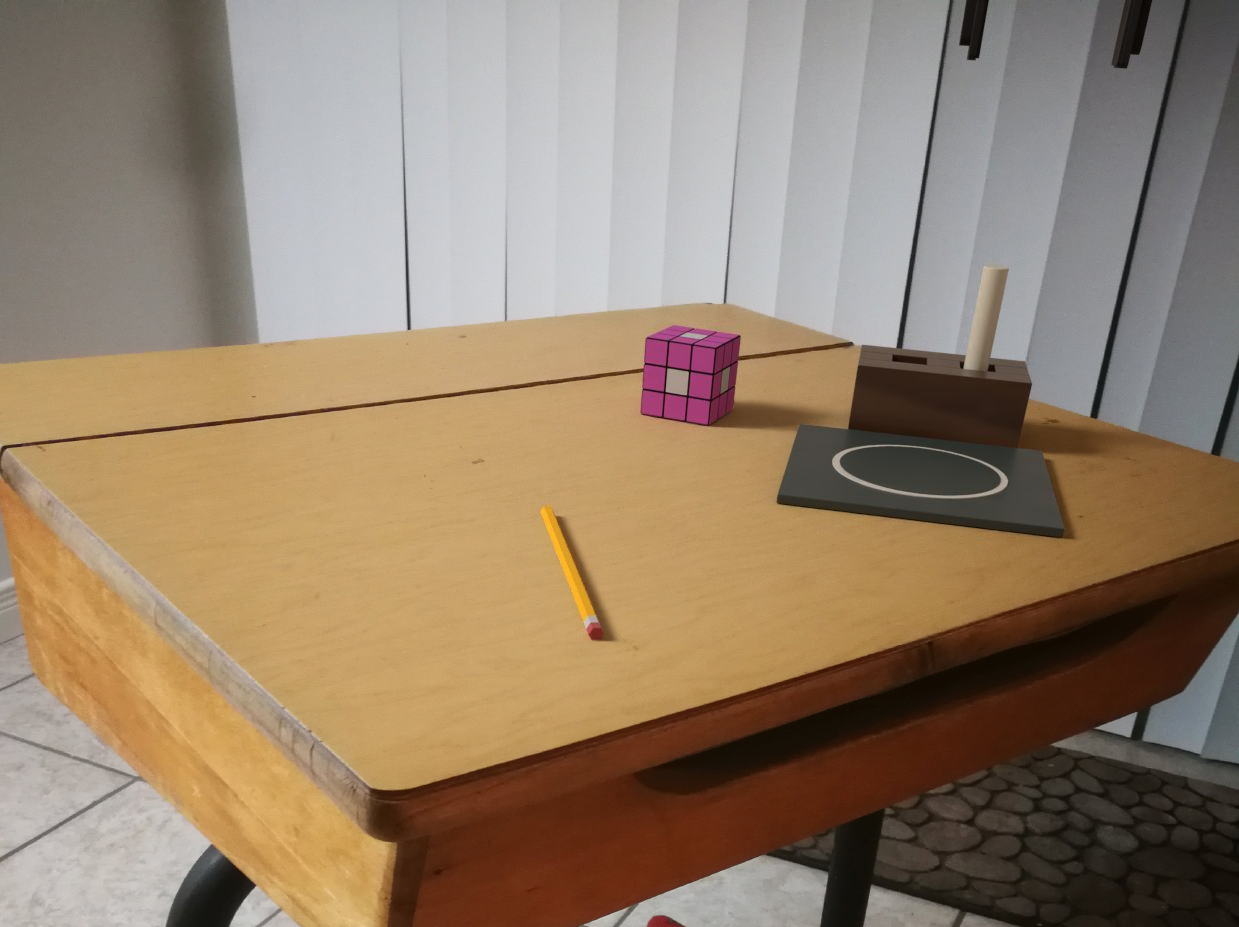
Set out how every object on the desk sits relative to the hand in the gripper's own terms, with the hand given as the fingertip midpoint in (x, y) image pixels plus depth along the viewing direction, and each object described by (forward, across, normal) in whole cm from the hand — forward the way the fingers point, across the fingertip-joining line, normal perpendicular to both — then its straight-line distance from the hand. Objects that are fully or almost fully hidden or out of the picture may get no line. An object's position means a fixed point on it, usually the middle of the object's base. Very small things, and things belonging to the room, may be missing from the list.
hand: (1045, 63), depth 87 cm
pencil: (+25, +23, +39) cm, 52 cm away
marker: (+25, +1, 0) cm, 25 cm away
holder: (+25, +3, 0) cm, 25 cm away
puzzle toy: (+25, +22, +3) cm, 33 cm away
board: (+25, +4, +14) cm, 29 cm away
